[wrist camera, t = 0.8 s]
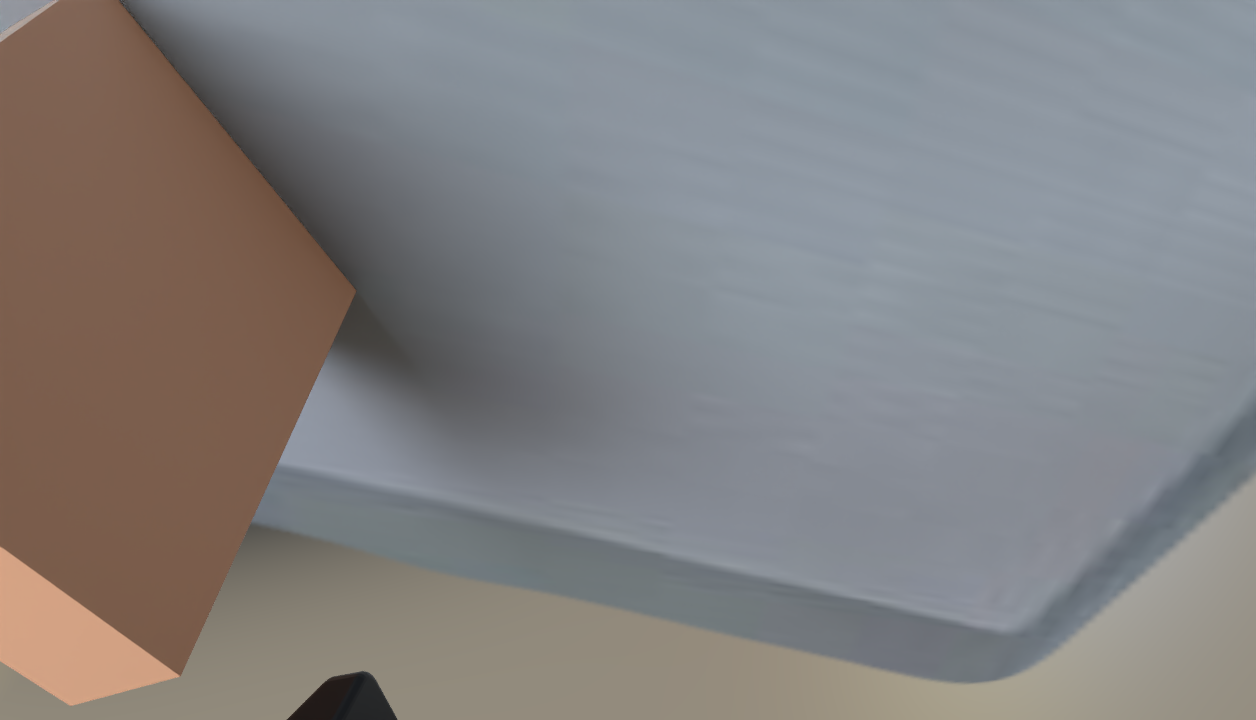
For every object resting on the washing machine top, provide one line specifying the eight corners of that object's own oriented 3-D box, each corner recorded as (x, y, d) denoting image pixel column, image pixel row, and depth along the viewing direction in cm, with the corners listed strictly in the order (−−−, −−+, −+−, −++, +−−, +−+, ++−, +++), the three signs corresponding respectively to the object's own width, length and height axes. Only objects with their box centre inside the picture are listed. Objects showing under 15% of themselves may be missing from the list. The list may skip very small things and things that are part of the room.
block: (96, -27, 18) (-352, 292, 10) (357, 290, 22) (180, 676, 15) (1, 31, 19) (-477, 367, 11) (270, 326, 23) (62, 708, 16)
